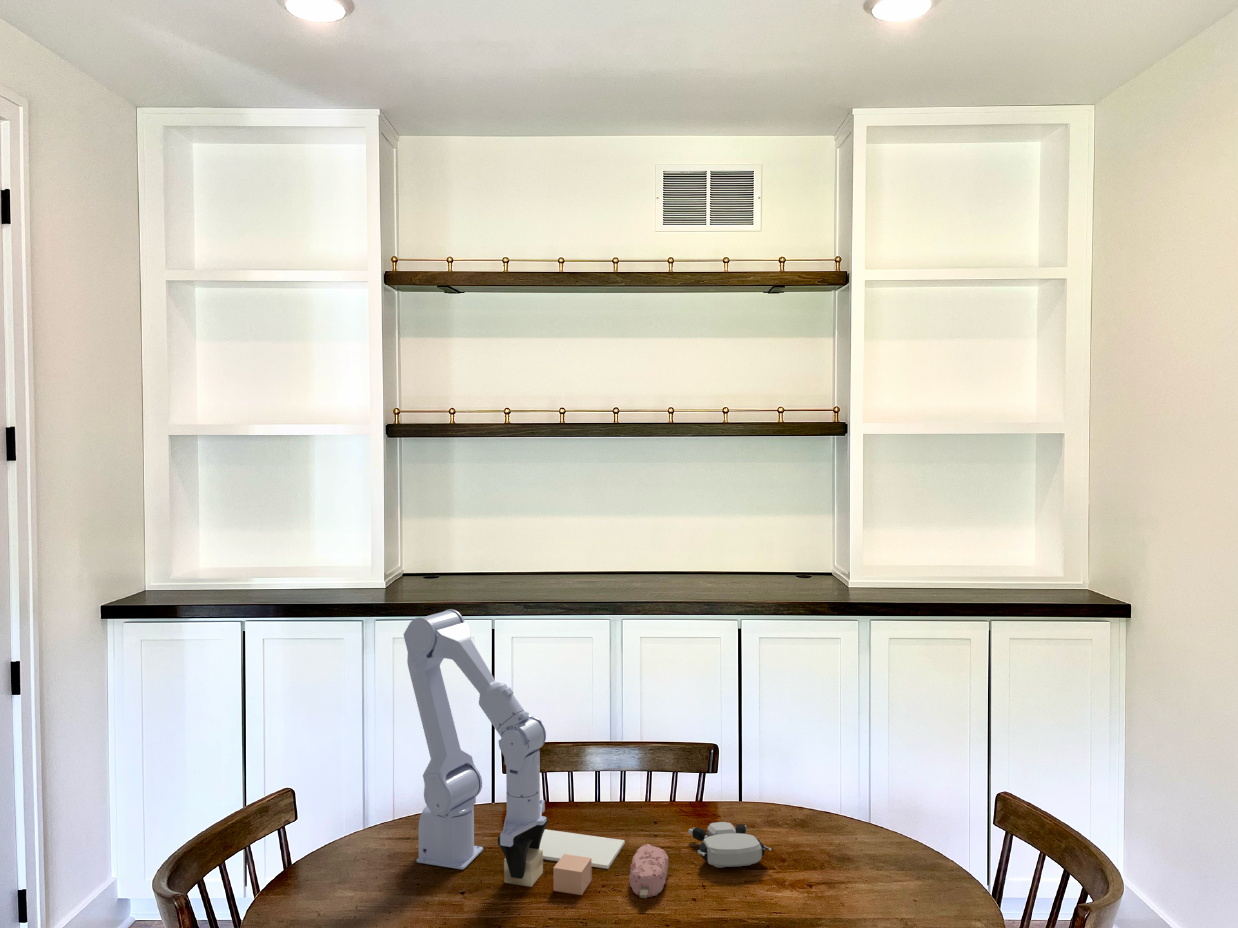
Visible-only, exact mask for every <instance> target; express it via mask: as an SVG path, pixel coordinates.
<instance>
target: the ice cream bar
mask: <svg viewBox="0 0 1238 928" xmlns="http://www.w3.org/2000/svg"><path fill="white" fill-rule="evenodd" d="M632 856H633V857H632V860H631V864H630V866H629V867H630V869H629V872H630V874H629V875H628V878H629V885H630V888H632V891H633V893H634V894H636V895H637V896H639V898H644V899H647V898H653V897H654V896H656V897H657V896H658V894H660V893H661V892H662V890H663V889H664V885H665V884H666V882H667V880H666V879H667V877H668V871H669V869H668V868H669V867H670V866H669V856H668V854H667V852H666V850H665V849H663V848H661V847H657V846H654V845H652V844H650V843H645V844H644V845H641V846H640V847H639V848H638V849H637V850H636V851H635V854H634V855H632Z"/></svg>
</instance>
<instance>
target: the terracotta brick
mask: <svg viewBox="0 0 1238 928" xmlns="http://www.w3.org/2000/svg"><path fill="white" fill-rule="evenodd" d="M592 870H593V869H592V866H591V858H588V857H581V856H574V855H567V854H564V855H563V856H562V857H561V859H560V860H559V861H557V863H556V864H555V865H554V866H553V871H552V872H553V892H554V891H555V892H559V893H564V894H565V893H566V894H573V895H579V896H583V894H584V892H585V891H586V889H587V888H588V886H589V885H590V884H591V882H592V874H593V873H592Z"/></svg>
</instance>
